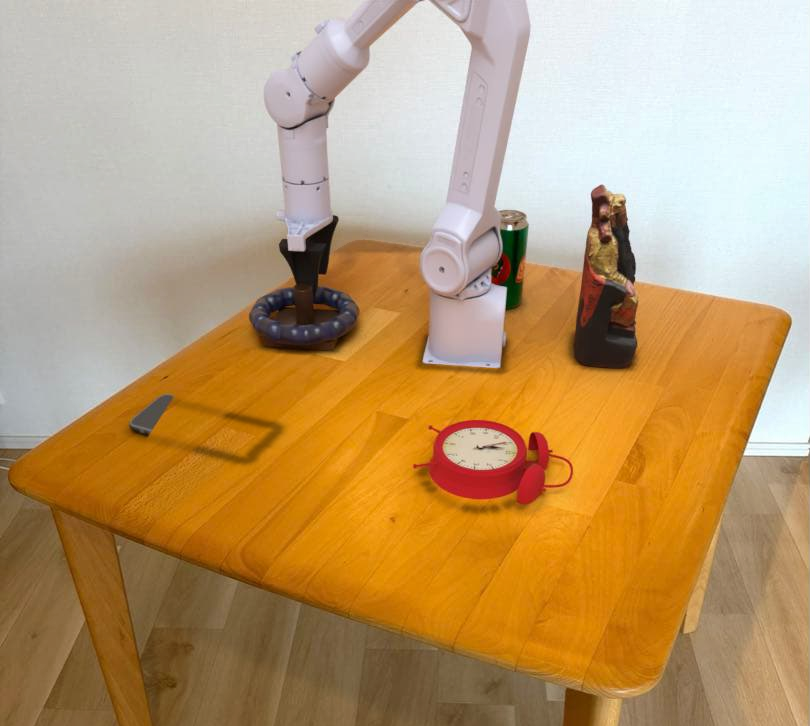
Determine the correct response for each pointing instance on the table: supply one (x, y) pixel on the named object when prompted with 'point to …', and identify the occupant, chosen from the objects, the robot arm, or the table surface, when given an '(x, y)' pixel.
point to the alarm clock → (489, 461)
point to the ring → (304, 333)
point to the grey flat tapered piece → (150, 415)
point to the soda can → (512, 256)
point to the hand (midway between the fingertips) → (313, 283)
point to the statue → (607, 287)
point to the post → (303, 317)
